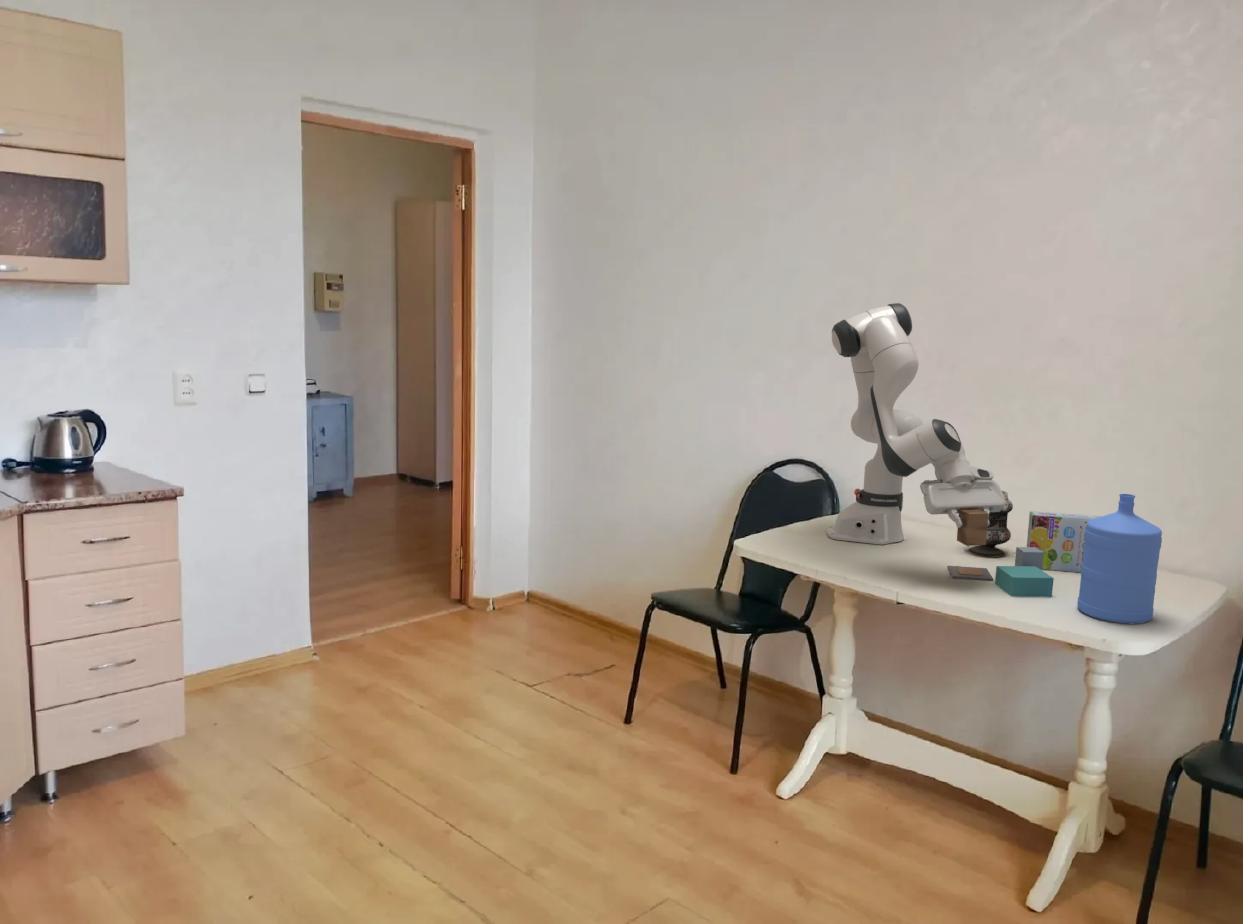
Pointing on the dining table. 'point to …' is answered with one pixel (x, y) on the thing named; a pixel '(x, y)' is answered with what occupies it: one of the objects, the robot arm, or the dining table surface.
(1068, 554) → the snack box
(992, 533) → the apothecary jar
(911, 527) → the dining table surface
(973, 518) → the walnut block
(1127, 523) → the water jug
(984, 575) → the card
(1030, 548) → the slate grey block
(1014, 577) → the teal base block
